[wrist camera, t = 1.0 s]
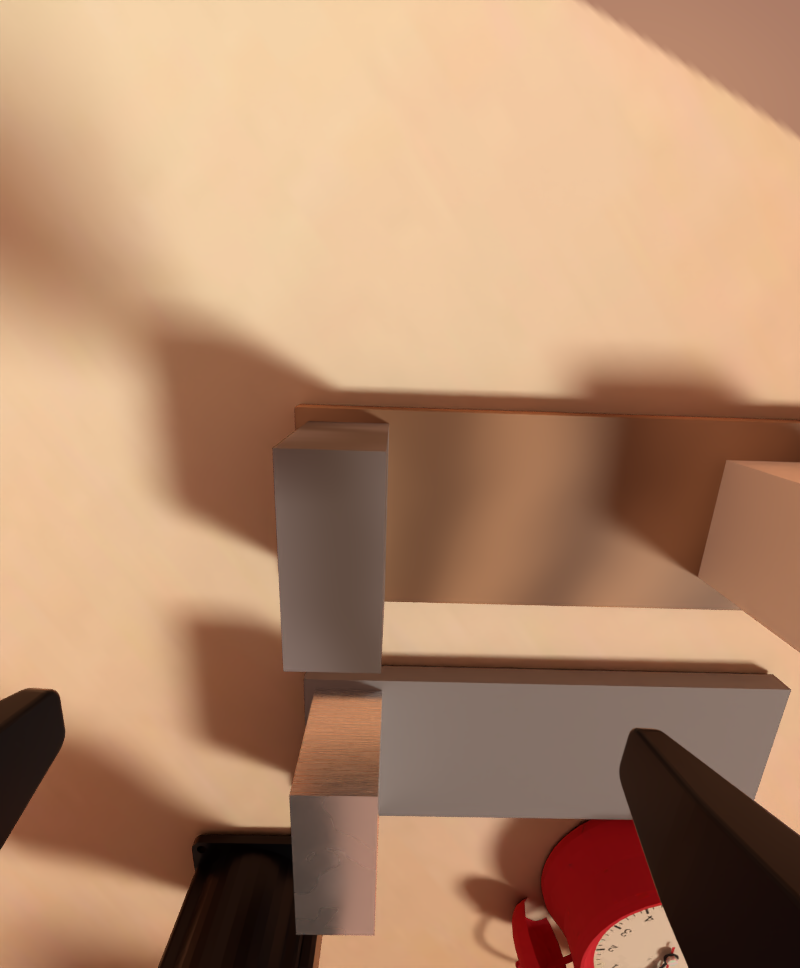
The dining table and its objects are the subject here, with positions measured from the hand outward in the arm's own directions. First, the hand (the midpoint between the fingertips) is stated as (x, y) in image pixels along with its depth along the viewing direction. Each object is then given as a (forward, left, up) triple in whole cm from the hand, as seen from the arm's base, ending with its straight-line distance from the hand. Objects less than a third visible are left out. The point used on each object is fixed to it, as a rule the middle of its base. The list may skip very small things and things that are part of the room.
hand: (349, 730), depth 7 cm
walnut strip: (+8, 0, -12) cm, 14 cm away
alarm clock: (+14, -23, -13) cm, 30 cm away
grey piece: (+8, -12, -12) cm, 19 cm away
